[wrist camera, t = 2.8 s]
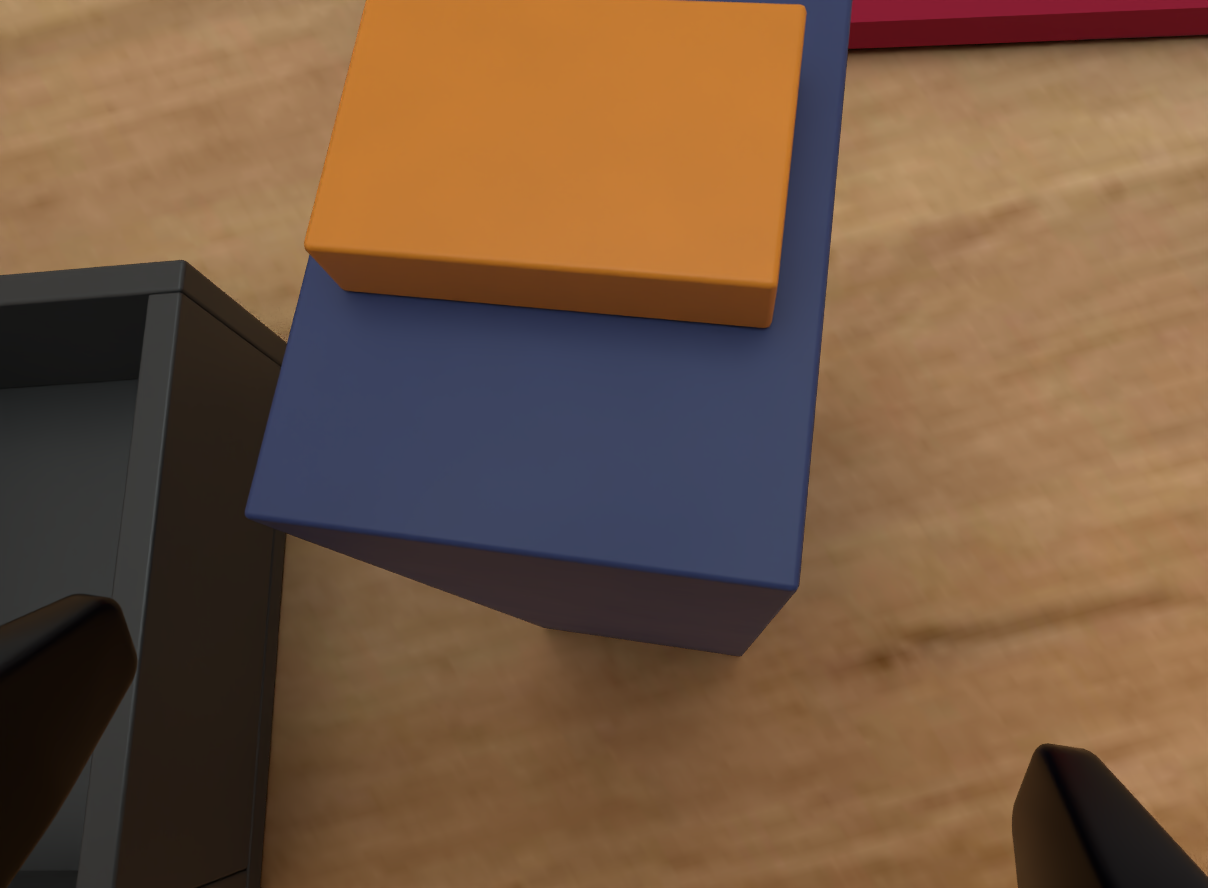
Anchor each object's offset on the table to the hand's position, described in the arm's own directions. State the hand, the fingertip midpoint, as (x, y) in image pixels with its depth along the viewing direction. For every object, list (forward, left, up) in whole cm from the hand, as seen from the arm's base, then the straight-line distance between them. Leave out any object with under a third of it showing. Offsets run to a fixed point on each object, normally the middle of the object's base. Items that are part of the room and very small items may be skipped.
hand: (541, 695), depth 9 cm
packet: (+4, -1, -11) cm, 12 cm away
